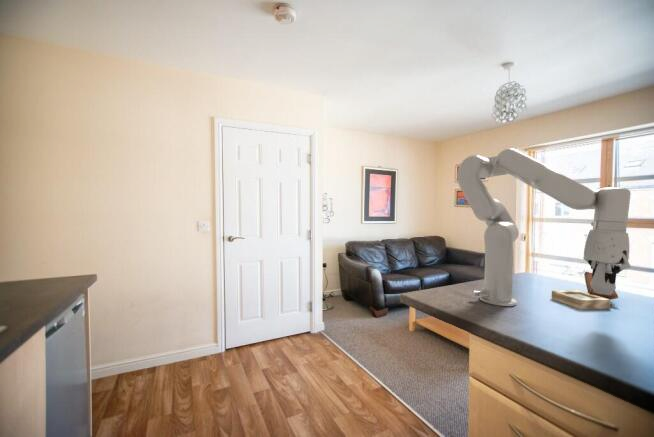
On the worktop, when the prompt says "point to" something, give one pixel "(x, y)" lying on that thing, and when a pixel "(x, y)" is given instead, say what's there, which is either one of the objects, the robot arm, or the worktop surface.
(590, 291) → the sunglasses case
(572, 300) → the square wooden tray
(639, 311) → the worktop surface
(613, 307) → the worktop surface
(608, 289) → the salt shaker
